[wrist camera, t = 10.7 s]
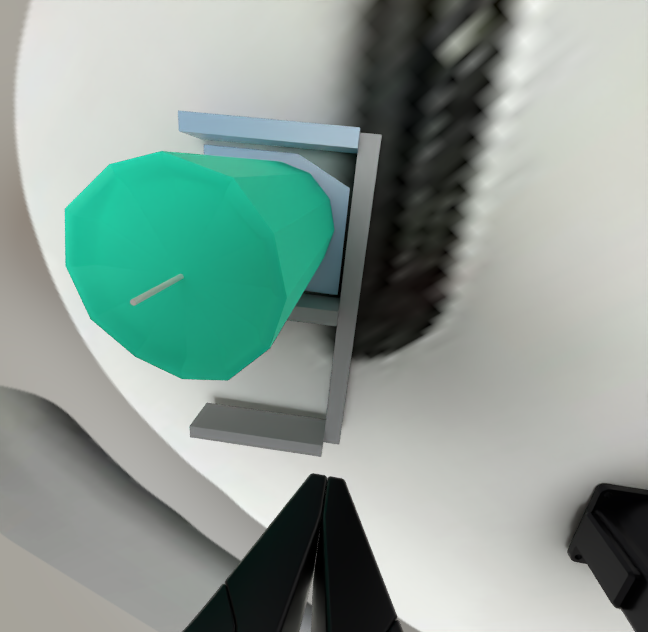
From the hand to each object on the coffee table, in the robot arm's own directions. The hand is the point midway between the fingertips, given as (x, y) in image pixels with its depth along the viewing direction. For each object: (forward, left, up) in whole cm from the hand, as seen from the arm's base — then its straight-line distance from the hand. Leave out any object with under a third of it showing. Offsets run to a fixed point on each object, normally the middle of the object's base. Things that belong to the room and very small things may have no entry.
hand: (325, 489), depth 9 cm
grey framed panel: (+4, -1, -12) cm, 13 cm away
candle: (+4, -5, -12) cm, 14 cm away
